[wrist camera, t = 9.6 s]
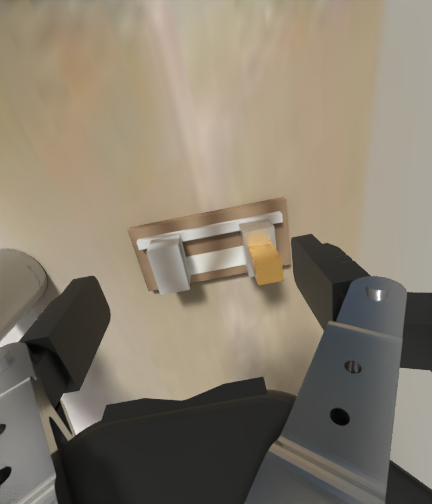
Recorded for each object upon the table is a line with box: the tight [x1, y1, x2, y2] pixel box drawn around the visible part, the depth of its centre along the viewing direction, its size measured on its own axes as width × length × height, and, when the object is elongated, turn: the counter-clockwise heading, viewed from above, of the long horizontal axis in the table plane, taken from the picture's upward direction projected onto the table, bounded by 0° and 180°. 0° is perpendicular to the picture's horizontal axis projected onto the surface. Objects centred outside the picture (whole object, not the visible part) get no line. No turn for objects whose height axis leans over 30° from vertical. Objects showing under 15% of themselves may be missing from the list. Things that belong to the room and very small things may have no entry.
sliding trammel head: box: [239, 218, 284, 285], centre depth 35 cm, size 4×6×9 cm, turn 10°
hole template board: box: [128, 197, 291, 295], centre depth 38 cm, size 22×10×6 cm, turn 101°
